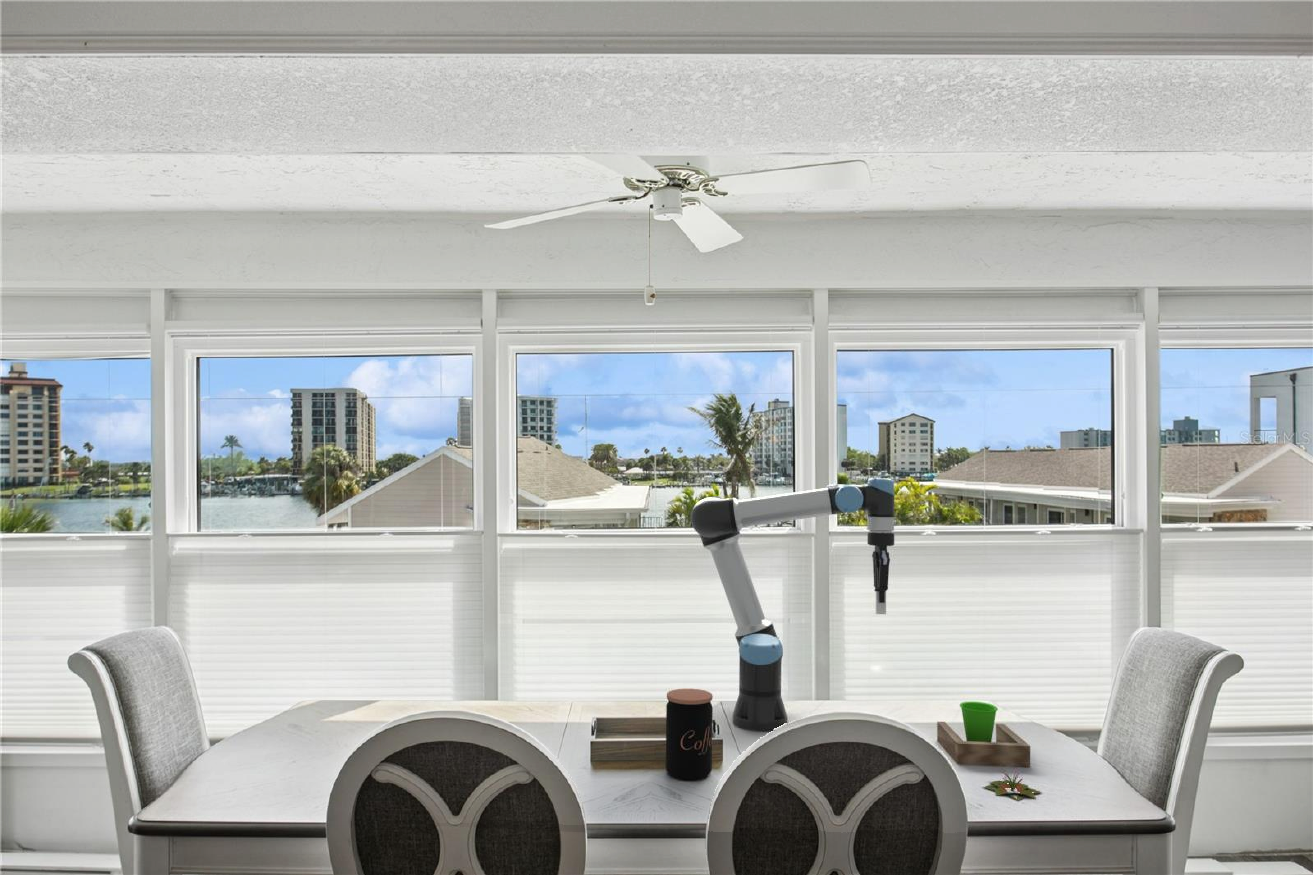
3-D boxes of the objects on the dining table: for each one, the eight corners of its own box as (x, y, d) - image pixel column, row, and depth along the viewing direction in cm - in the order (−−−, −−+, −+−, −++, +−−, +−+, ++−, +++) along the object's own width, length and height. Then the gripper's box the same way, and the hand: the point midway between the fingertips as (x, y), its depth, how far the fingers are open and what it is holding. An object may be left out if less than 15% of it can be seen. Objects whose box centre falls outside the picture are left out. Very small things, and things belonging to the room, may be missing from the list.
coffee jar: (679, 785, 184) (680, 702, 184) (657, 769, 193) (658, 691, 194) (720, 777, 189) (721, 697, 189) (696, 763, 198) (697, 686, 199)
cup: (991, 745, 215) (991, 702, 215) (1002, 757, 206) (1002, 711, 206) (955, 743, 215) (955, 700, 216) (965, 755, 206) (965, 710, 207)
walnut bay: (957, 764, 199) (957, 743, 200) (937, 741, 217) (937, 721, 218) (1030, 767, 198) (1030, 746, 199) (1003, 743, 216) (1003, 723, 217)
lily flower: (1053, 796, 181) (1053, 775, 182) (1020, 807, 175) (1019, 785, 175) (1004, 779, 192) (1004, 759, 192) (971, 789, 185) (971, 768, 185)
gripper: (899, 533, 234) (899, 617, 233) (889, 530, 247) (889, 610, 246) (872, 532, 235) (871, 617, 234) (863, 530, 248) (863, 609, 247)
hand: (880, 613), depth 240 cm, fingers closed
